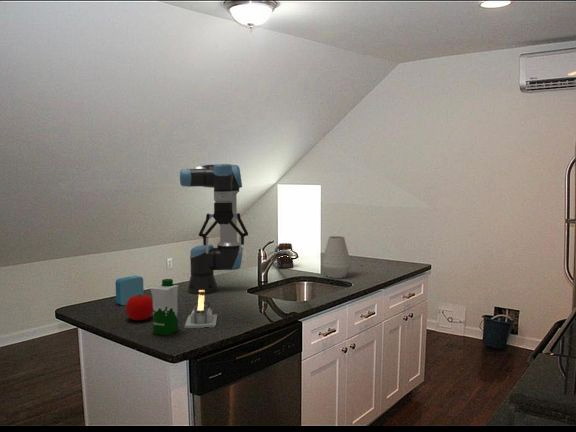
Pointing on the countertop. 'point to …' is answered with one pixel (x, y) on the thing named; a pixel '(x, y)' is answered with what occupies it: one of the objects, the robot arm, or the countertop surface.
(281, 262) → the mug
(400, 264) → the countertop surface
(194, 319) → the base
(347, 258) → the vase
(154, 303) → the milk carton
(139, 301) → the tomato
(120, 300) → the light blue flat block
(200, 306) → the wooden bar
